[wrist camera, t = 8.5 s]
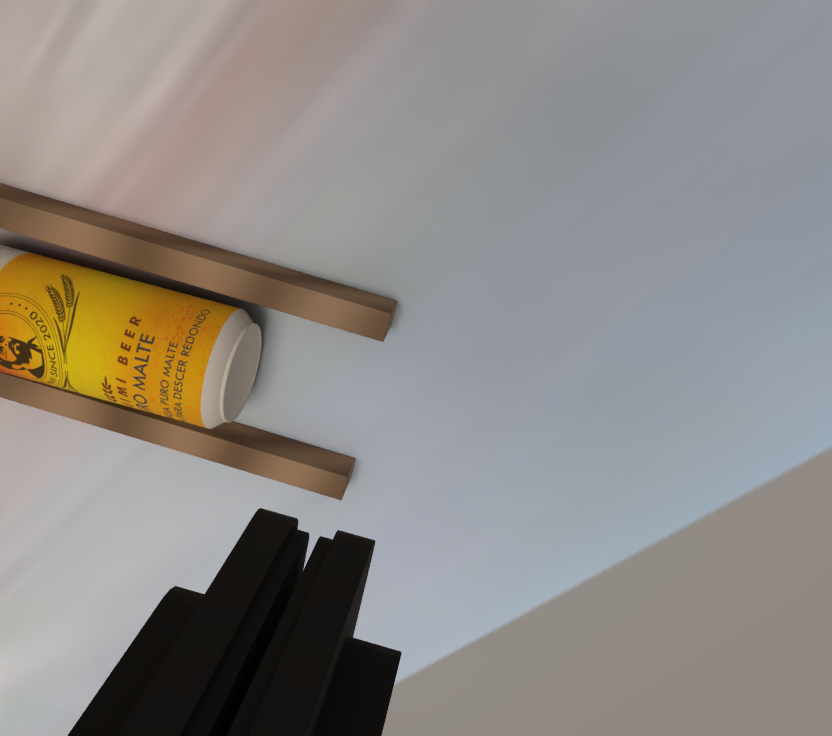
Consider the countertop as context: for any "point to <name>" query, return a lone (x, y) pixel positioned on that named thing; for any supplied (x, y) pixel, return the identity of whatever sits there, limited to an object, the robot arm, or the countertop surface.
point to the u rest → (214, 274)
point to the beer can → (125, 340)
